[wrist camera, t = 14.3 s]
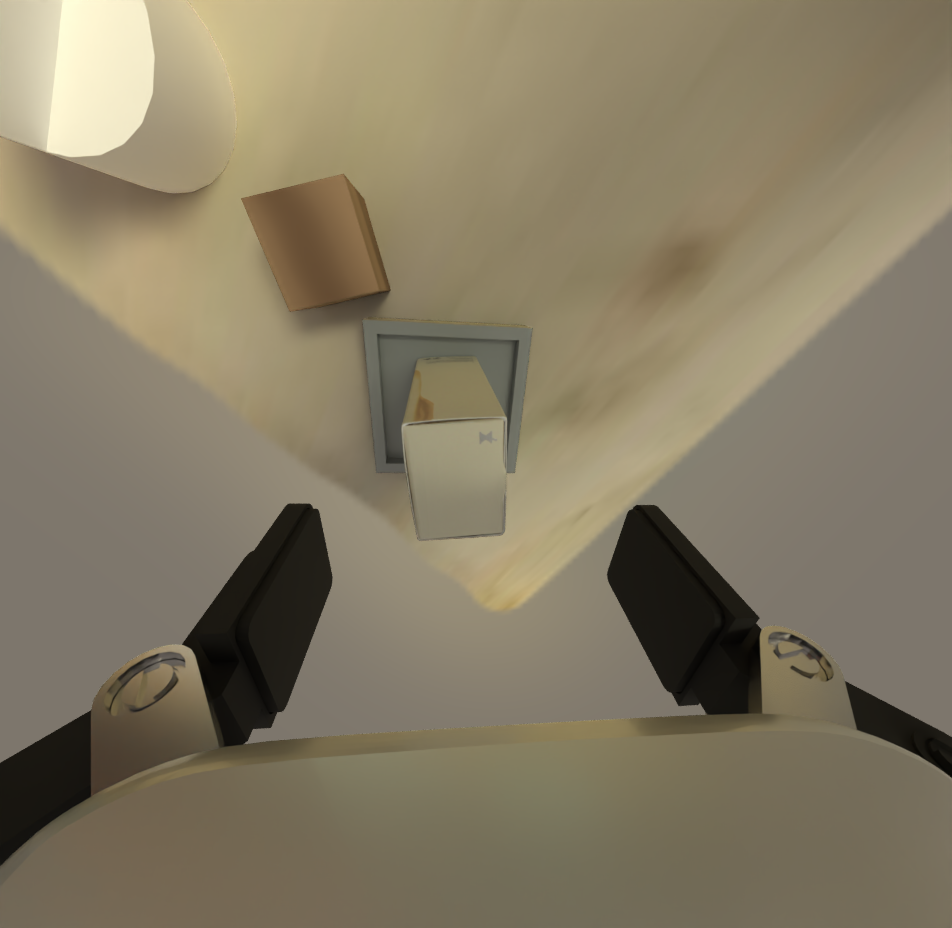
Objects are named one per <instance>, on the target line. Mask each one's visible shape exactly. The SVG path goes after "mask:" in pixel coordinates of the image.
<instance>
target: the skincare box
mask: <svg viewBox="0 0 952 928" xmlns="http://www.w3.org/2000/svg"><path fill="white" fill-rule="evenodd" d="M401 432H402V444H403V455H404V464H405V471H406V478H407V485H408V491H409V497H410V503H411V509H412V514H413V519H414V525H415V529H416V534H417V539H418V540H419V541H426V540H443V539H459V538H474V537H488V536H500V535H502V534H503V533H504V532H505V517H506V465H507V417H506V415H505V414H504V411H503V409H502V407H501V405H500V403H499V401H498V399H497V397H496V396H495V393H494V391H493V390H492V388H491V386H490V384H489V382H488V380H487V378H486V376H485V374H484V372H483V370H482V368H481V366H480V364H479V362H478V360H477V358H476V357H475V356H450V357H430V358H419V359H418V360H417V363H416V367H415V372H414V376H413V380H412V385H411V389H410V394H409V398H408V403H407V407H406V411H405V415H404V419H403V422H402V427H401Z"/></svg>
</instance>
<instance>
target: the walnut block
mask: <svg viewBox="0 0 952 928" xmlns="http://www.w3.org/2000/svg"><path fill="white" fill-rule="evenodd" d="M241 200H242V202H243V204H244V207H245V209H246V211H247V214H248V216H249V218H250V220H251V223H252V225H253V227H254V230H255V232H256V234H257V237H258V239H259V241H260V244H261V246H262V248H263V251H264V253H265V255H266V258H267V260H268V262H269V265H270V267H271V269H272V272H273V274H274V276H275V279H276V281H277V283H278V286H279V288H280V290H281V292H282V295H283V297H284V299H285V302H286V304H287V306H288V309H289V311H290V312H291V311H297V310H304V309H311V308H318V307H322V306H326V305H331V304H335V303H339V302H343V301H348V300H352V299H356V298H360V297H365V296H369V295H373V294H377V293H382V292H386V291H390V286H389V283H388V280H387V276H386V273H385V269H384V266H383V262H382V259H381V256H380V252H379V249H378V245H377V242H376V238H375V235H374V232H373V228H372V225H371V221H370V218H369V214H368V211H367V208H366V204H365V201H364V198H363V197H362V196H361V195H360V193H359V192H358V191H357V190H356V189H355V187H354V186H353V185H352V184H351V183H350V181H349V180H348V179H347V178H346V176H345V175H344V174H341V175H337V176H333V177H329V178H325V179H320V180H316V181H312V182H308V183H304V184H300V185H295V186H291V187H287V188H283V189H279V190H274V191H270V192H266V193H262V194H258V195H254V196H249V197H245V198H241Z"/></svg>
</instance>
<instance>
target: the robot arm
mask: <svg viewBox="0 0 952 928" xmlns="http://www.w3.org/2000/svg"><path fill="white" fill-rule="evenodd" d="M607 576H608V581H609V584H610V586H611V588H612V590H613V592H614V593H615V595H616V597H617V599H618V601H619V603H620V605H621V607H622V608H623V611H624V612H625V614H626V616H627V618H628V620H629V622H630V624H631V625H632V628H633V629H634V631H635V633H636V635H637V637H638V639H639V641H640V642H641V645H642V647H643V648H644V650H645V652H646V654H647V656H648V658H649V660H650V662H651V663H652V666H653V667H654V669H655V671H656V673H657V675H658V677H659V679H660V681H661V683H662V684H663V686H664V688H665V689H666V690H667V691H669V692H671V693H672V694H673V696H674V698H675V700H676V702H677V704H678V706H686V705H698V704H699V703H700V704H701V705H702V707H703V709H704V710H705V712H706V713H705V715H693V716H692V715H689V716H670V717H650V718H630V719H612V720H593V721H592V720H591V721H573V722H555V723H537V724H519V725H504V726H485V727H467V728H450V729H434V730H418V731H402V732H388V733H370V734H354V735H340V736H328V737H315V738H303V739H290V740H279V741H266V742H259V743H252V744H244V743H245V742H247V741H248V739H249V737H250V734H251V732H252V730H253V729H258V728H271V727H272V724H273V721H274V719H275V716H276V714H277V712H282V711H283V710H284V709H285V707H286V705H287V703H288V701H289V698H290V695H291V693H292V690H293V687H294V684H295V682H296V679H297V677H298V674H299V671H300V669H301V666H302V663H303V661H304V658H305V655H306V653H307V650H308V647H309V645H310V642H311V639H312V637H313V634H314V631H315V629H316V626H317V623H318V621H319V618H320V616H321V613H322V610H323V608H324V605H325V602H326V599H327V597H328V594H329V591H330V589H331V586H332V572H331V567H330V562H329V557H328V552H327V548H326V543H325V538H324V533H323V528H322V523H321V518H320V514H319V511H318V509H313V507H312V505H311V504H288V505H286V507H285V508H284V509H283V511H282V512H281V513H280V515H279V516H278V517H277V519H276V520H275V522H274V523H273V525H272V526H271V528H270V529H269V530H268V532H267V533H266V534H265V536H264V537H263V539H262V540H261V541H260V543H259V544H258V546H257V547H256V549H255V550H254V551H252V552H250V553H249V554H248V555H247V556H246V557H245V558H244V560H243V561H242V562H241V564H240V565H239V566H238V568H237V569H236V571H235V572H234V573H233V575H232V576H231V577H230V579H229V580H228V582H227V583H226V584H225V586H224V587H223V589H222V590H221V591H220V593H219V594H218V596H217V597H216V598H215V600H214V601H213V602H212V604H211V605H210V607H209V608H208V609H207V611H206V612H205V613H204V615H203V616H202V618H201V619H200V620H199V622H198V623H197V624H196V626H195V627H194V629H193V630H192V631H191V633H190V634H189V635H188V637H187V638H186V640H185V641H184V642H183V644H182V645H167V646H162V647H158V648H155V649H153V650H150V651H148V652H145V653H143V654H141V655H139V656H138V657H136V658H134V659H132V660H131V661H129V662H127V663H126V664H125V665H124V666H122V667H121V668H120V669H118V670H117V671H116V672H115V673H113V674H112V676H111V677H110V678H109V679H108V680H107V681H106V682H105V683H104V684H103V685H102V686H101V688H100V690H99V691H98V693H97V695H96V696H95V698H94V700H93V704H92V709H91V711H89V712H87V713H85V714H84V715H82V716H80V717H79V718H77V719H75V720H74V721H72V722H70V723H68V724H67V725H65V726H63V727H61V728H60V729H58V730H56V731H55V732H53V733H51V734H50V735H48V736H46V737H44V738H42V739H41V740H39V741H37V742H35V743H34V744H32V745H30V746H29V747H27V748H25V749H23V750H22V751H20V752H19V753H17V754H15V755H13V756H11V757H10V758H8V759H6V760H4V761H3V762H1V763H0V928H952V737H950V736H949V735H947V734H945V733H944V732H942V731H939V730H938V729H936V728H934V727H932V726H930V725H928V724H926V723H924V722H922V721H920V720H919V719H917V718H915V717H913V716H911V715H909V714H907V713H905V712H903V711H901V710H899V709H898V708H895V707H894V706H892V705H890V704H888V703H886V702H884V701H882V700H880V699H878V698H876V697H875V696H873V695H871V694H869V693H867V692H865V691H863V690H861V689H859V688H857V687H855V686H853V685H851V684H849V683H848V682H846V681H845V680H844V677H843V674H842V672H841V669H840V667H839V665H838V664H837V663H836V662H835V660H834V659H833V658H832V657H831V656H830V655H829V654H828V653H827V652H826V651H825V650H824V649H823V648H822V647H821V646H819V645H818V644H816V643H815V642H813V641H812V640H811V639H809V638H808V637H806V636H804V635H802V634H800V633H798V632H796V631H793V630H790V629H788V628H785V627H780V626H767V627H765V628H764V629H762V630H761V628H760V627H759V626H758V625H757V624H756V622H757V621H758V619H759V617H758V616H757V615H756V614H755V612H754V611H753V610H752V609H751V608H750V607H749V606H748V605H747V604H746V603H745V601H744V600H743V599H742V598H741V597H740V596H739V595H738V594H737V593H736V592H735V591H734V589H733V588H732V587H731V586H730V585H729V584H728V583H727V582H726V581H725V580H724V579H723V577H722V576H721V575H720V574H719V573H718V572H717V571H716V570H715V569H714V568H713V566H712V565H711V564H710V563H709V562H708V561H707V560H706V559H705V558H704V557H703V556H702V554H700V552H699V551H698V550H697V549H696V548H695V547H694V546H693V545H692V544H691V542H690V541H689V540H688V539H687V538H686V537H685V536H684V535H683V534H682V533H681V531H680V530H679V529H678V528H677V527H676V526H675V525H674V524H673V523H672V522H671V521H670V519H669V518H668V517H667V516H666V515H665V514H664V513H663V512H662V511H661V510H660V509H659V508H658V507H657V506H655V505H636V506H635V507H633V509H632V510H629V511H628V513H627V516H626V519H625V522H624V525H623V528H622V531H621V534H620V537H619V539H618V542H617V545H616V548H615V551H614V554H613V557H612V560H611V563H610V566H609V569H608V573H607ZM243 744H244V745H243Z"/></svg>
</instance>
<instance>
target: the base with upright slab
mask: <svg viewBox="0 0 952 928" xmlns="http://www.w3.org/2000/svg"><path fill="white" fill-rule="evenodd" d="M236 128H237V118H236V108H235V97H234V92H233V89H232V85H231V82H230V78H229V75H228V72H227V68H226V65H225V62H224V60H223V58H222V56H221V54H220V52H219V50H218V48H217V46H216V44H215V42H214V40H213V37H212V35H211V33H210V31H209V30H208V28H207V27H206V25H205V24H204V23H203V21H202V20H201V18H200V17H199V16H198V14H197V13H196V11H195V10H194V9H193V7H192V6H191V4H190V3H189V2H188V0H0V137H2V138H5V139H8V140H11V141H14V142H17V143H20V144H22V145H25V146H28V147H31V148H34V149H37V150H40V151H43V152H45V153H48V154H51V155H54V156H57V157H60V158H63V159H65V160H68V161H71V162H74V163H77V164H80V165H83V166H86V167H88V168H91V169H94V170H97V171H100V172H103V173H106V174H108V175H111V176H114V177H117V178H120V179H123V180H126V181H128V182H131V183H134V184H137V185H140V186H143V187H146V188H149V189H153V190H158V191H162V192H167V193H171V194H172V193H187V192H194V191H196V190H198V189H201V188H203V187H205V186H207V185H210V184H211V183H212V182H213V181H214V180H215V179H216V178H217V177H218V176H219V175H220V174H221V173H222V172H223V171H224V170H225V167H226V165H227V163H228V161H229V158H230V156H231V154H232V152H233V150H234V143H235V135H236Z"/></svg>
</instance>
